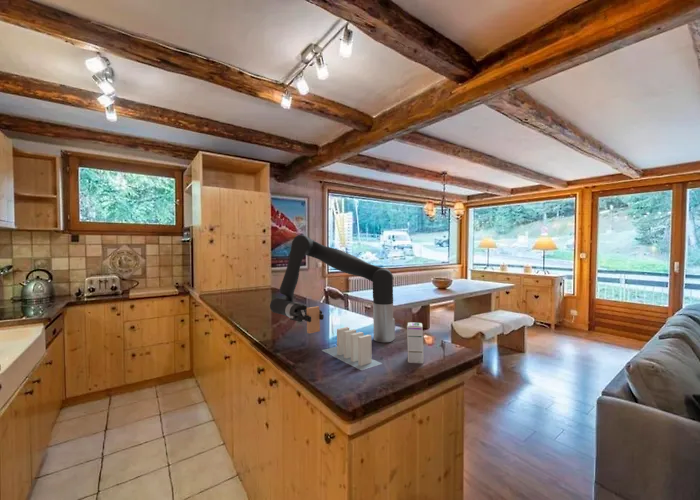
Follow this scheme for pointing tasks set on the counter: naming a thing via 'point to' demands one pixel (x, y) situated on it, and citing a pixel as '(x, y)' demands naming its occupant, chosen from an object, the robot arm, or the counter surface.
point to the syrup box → (415, 342)
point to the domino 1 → (313, 320)
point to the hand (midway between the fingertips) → (316, 318)
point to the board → (355, 364)
